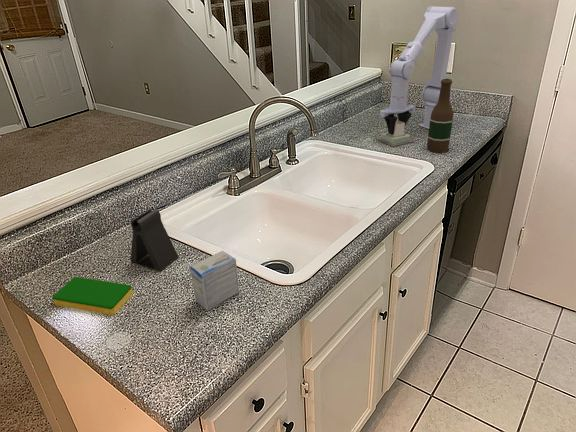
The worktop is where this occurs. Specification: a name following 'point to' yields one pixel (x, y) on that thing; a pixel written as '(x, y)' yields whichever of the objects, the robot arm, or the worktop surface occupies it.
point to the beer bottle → (441, 121)
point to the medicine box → (214, 279)
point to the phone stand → (151, 242)
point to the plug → (398, 129)
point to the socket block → (395, 139)
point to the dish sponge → (93, 295)
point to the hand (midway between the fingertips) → (395, 132)
